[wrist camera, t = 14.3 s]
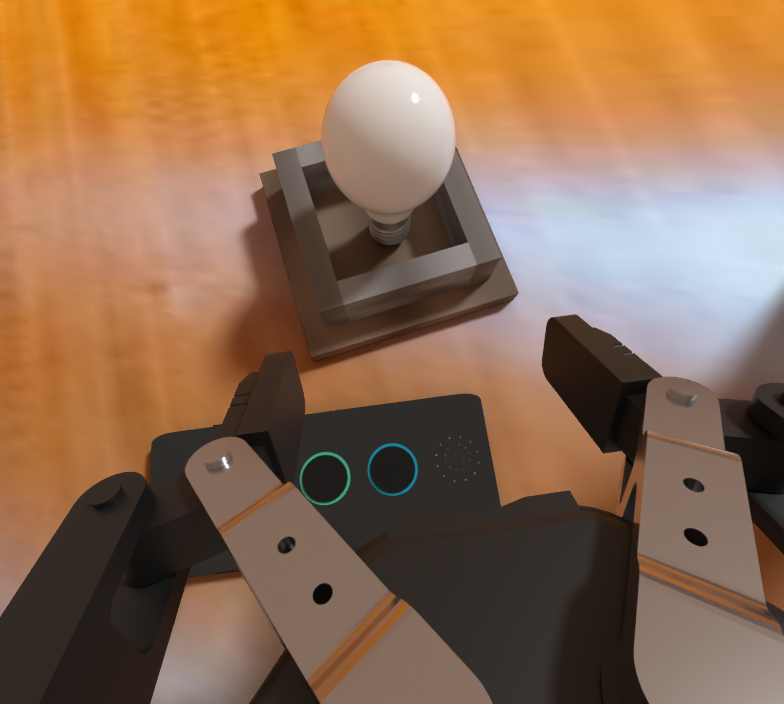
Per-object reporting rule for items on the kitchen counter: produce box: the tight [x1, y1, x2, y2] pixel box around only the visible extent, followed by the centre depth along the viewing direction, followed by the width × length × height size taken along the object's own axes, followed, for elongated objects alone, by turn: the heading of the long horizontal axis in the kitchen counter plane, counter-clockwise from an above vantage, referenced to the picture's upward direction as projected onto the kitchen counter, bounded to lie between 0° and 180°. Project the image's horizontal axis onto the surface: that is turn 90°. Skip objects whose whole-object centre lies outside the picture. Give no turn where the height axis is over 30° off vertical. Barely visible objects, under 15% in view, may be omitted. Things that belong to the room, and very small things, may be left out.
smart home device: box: [151, 394, 501, 577], centre depth 23 cm, size 8×2×20 cm
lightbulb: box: [321, 60, 456, 245], centre depth 20 cm, size 6×6×11 cm
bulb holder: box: [260, 141, 518, 361], centre depth 25 cm, size 14×14×4 cm
